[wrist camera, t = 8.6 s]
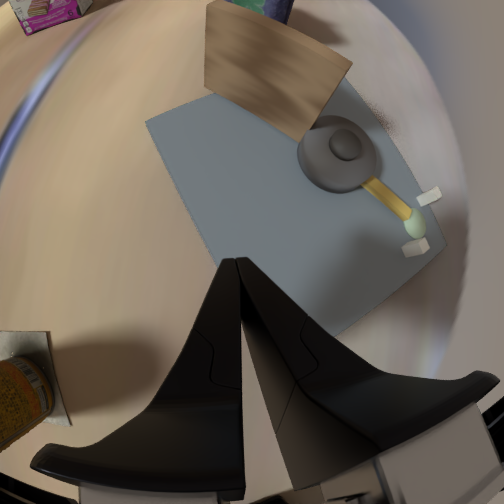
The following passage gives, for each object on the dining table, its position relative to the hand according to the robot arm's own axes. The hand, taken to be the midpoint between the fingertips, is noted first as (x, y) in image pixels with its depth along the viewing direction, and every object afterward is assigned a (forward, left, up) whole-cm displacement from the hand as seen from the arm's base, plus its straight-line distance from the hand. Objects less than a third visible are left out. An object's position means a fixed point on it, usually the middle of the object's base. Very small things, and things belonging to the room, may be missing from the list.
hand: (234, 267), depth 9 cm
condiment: (0, +20, -11) cm, 23 cm away
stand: (+3, -10, -11) cm, 15 cm away
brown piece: (+6, -11, -10) cm, 16 cm away
